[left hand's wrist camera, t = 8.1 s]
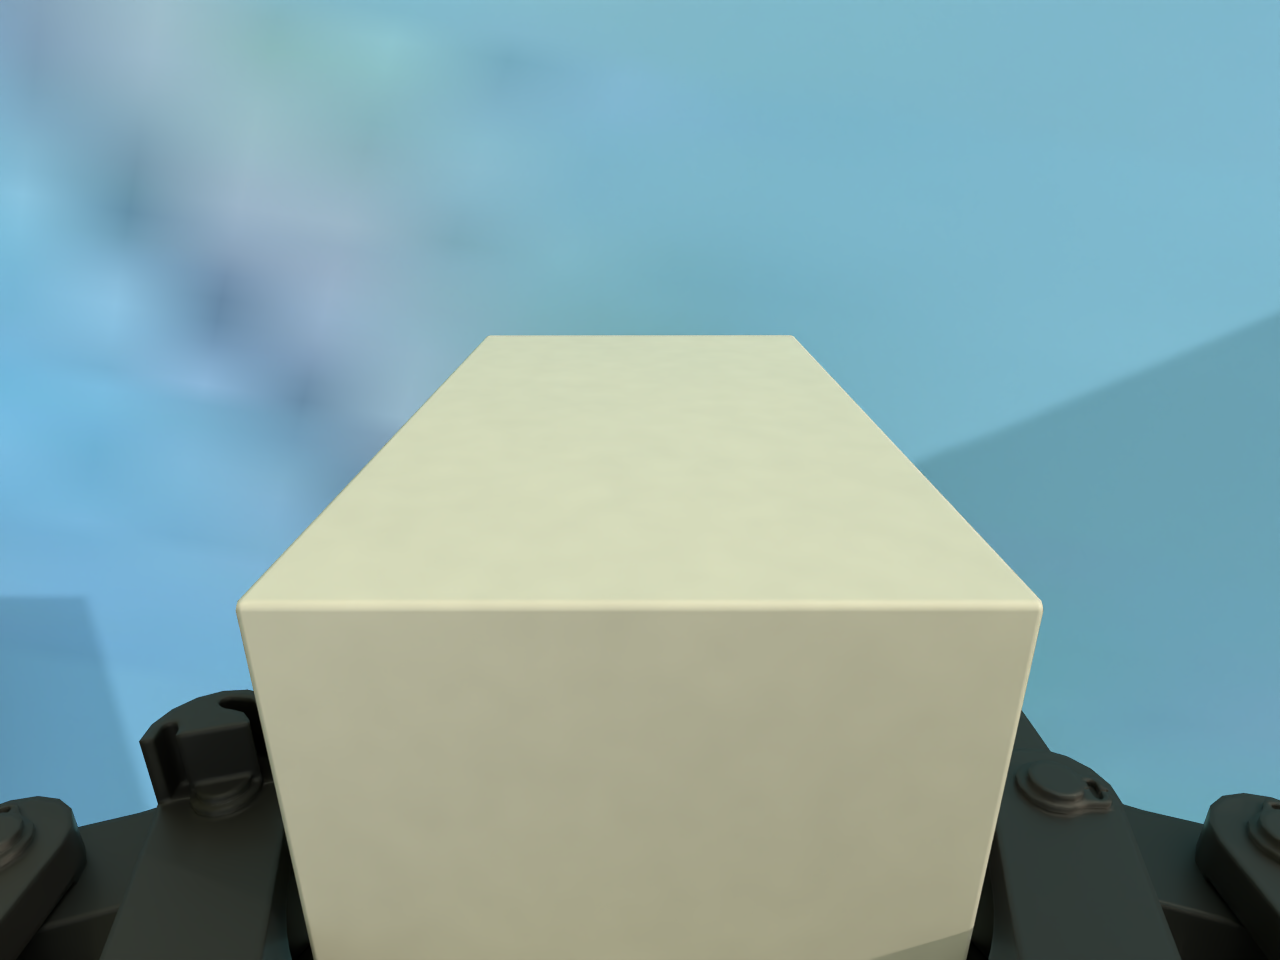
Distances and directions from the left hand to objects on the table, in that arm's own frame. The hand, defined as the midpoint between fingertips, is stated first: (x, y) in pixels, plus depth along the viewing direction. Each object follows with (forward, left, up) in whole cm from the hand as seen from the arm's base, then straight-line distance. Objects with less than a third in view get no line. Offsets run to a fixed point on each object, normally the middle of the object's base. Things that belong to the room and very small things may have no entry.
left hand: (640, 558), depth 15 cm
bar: (+7, 0, -1) cm, 7 cm away
